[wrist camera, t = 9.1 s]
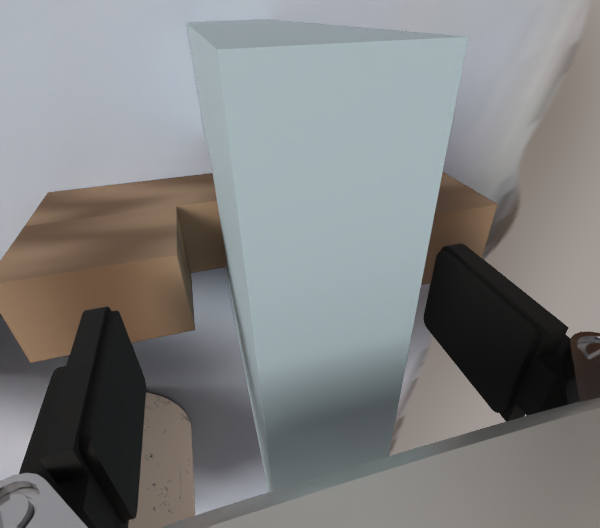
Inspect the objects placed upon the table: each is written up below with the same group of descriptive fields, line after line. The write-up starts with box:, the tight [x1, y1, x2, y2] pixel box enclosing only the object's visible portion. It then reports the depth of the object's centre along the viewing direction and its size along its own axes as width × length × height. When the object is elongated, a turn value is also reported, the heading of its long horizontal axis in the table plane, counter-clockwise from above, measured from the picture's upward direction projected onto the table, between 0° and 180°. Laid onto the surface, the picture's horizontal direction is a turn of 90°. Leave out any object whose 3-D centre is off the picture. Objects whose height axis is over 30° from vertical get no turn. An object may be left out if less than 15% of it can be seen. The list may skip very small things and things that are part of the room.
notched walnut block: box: [0, 172, 497, 363], centre depth 15 cm, size 16×3×6 cm, turn 92°
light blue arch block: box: [187, 20, 468, 493], centre depth 13 cm, size 14×3×12 cm, turn 2°
